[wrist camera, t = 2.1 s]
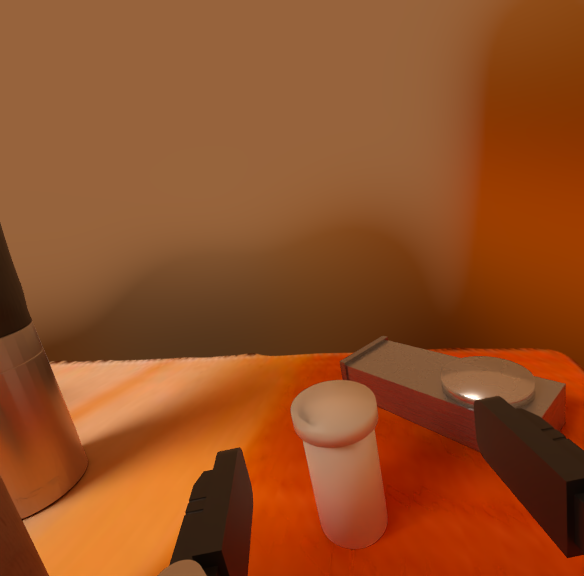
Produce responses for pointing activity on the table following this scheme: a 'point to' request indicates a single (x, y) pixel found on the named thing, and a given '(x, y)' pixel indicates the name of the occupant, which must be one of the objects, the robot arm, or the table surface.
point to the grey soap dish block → (449, 387)
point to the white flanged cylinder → (343, 460)
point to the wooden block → (16, 542)
